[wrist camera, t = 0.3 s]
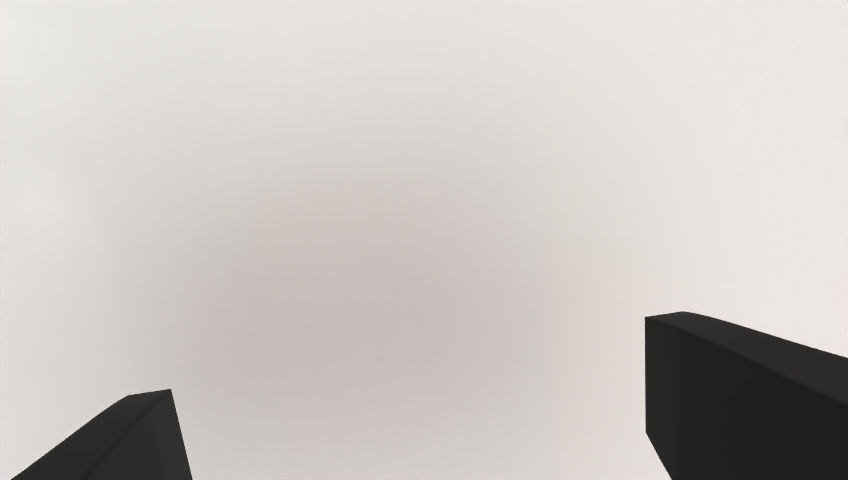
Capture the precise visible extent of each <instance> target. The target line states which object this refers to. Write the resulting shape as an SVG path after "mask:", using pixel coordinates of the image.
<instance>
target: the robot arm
mask: <svg viewBox="0 0 848 480" xmlns="http://www.w3.org/2000/svg"><path fill="white" fill-rule="evenodd" d="M645 398H646V434H647V435H648V437H649V439H650V441H651V443H652V445H653V447H654V449H655V450H656V452H657V454H658V456H659V458H660V460H661V462H662V463H663V465H664V467H665V469H666V470H667V472H668V474H669V476H670V477H671V479H672V480H848V358H846V357H842V356H839V355H835V354H832V353H828V352H825V351H822V350H818V349H815V348H811V347H808V346H805V345H801V344H798V343H795V342H792V341H788V340H785V339H782V338H779V337H775V336H772V335H769V334H766V333H763V332H759V331H756V330H753V329H750V328H746V327H743V326H740V325H737V324H733V323H730V322H727V321H723V320H719V319H716V318H712V317H708V316H704V315H700V314H695V313H690V312H683V311H682V312H676V313H669V314H662V315H656V316H649V317H645ZM11 480H192V475H191V471H190V467H189V463H188V459H187V454H186V450H185V446H184V442H183V438H182V433H181V429H180V425H179V421H178V417H177V412H176V408H175V404H174V400H173V396H172V391H171V389H167V390H161V391H154V392H147V393H141V394H134V395H128V396H126V397H124V398H123V399H121V400H119V401H118V402H116V403H114V404H113V405H111V406H110V407H108V408H107V409H106V410H104V411H103V412H101V413H100V414H99V415H97V416H96V417H94V418H93V419H92V420H90V421H89V422H88V423H86V424H85V425H84V426H82V427H81V428H80V429H78V430H77V431H76V432H74V433H73V434H72V435H70V436H69V437H68V438H66V439H65V440H64V441H62V442H61V443H60V444H58V445H57V446H56V447H54V448H53V449H52V450H50V451H49V452H48V453H46V454H45V455H44V456H42V457H41V458H40V459H38V460H37V461H36V462H34V463H33V464H32V465H30V466H29V467H28V468H26V469H25V470H24V471H22V472H21V473H20V474H18V475H17V476H15V477H14V478H12V479H11Z"/></svg>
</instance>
